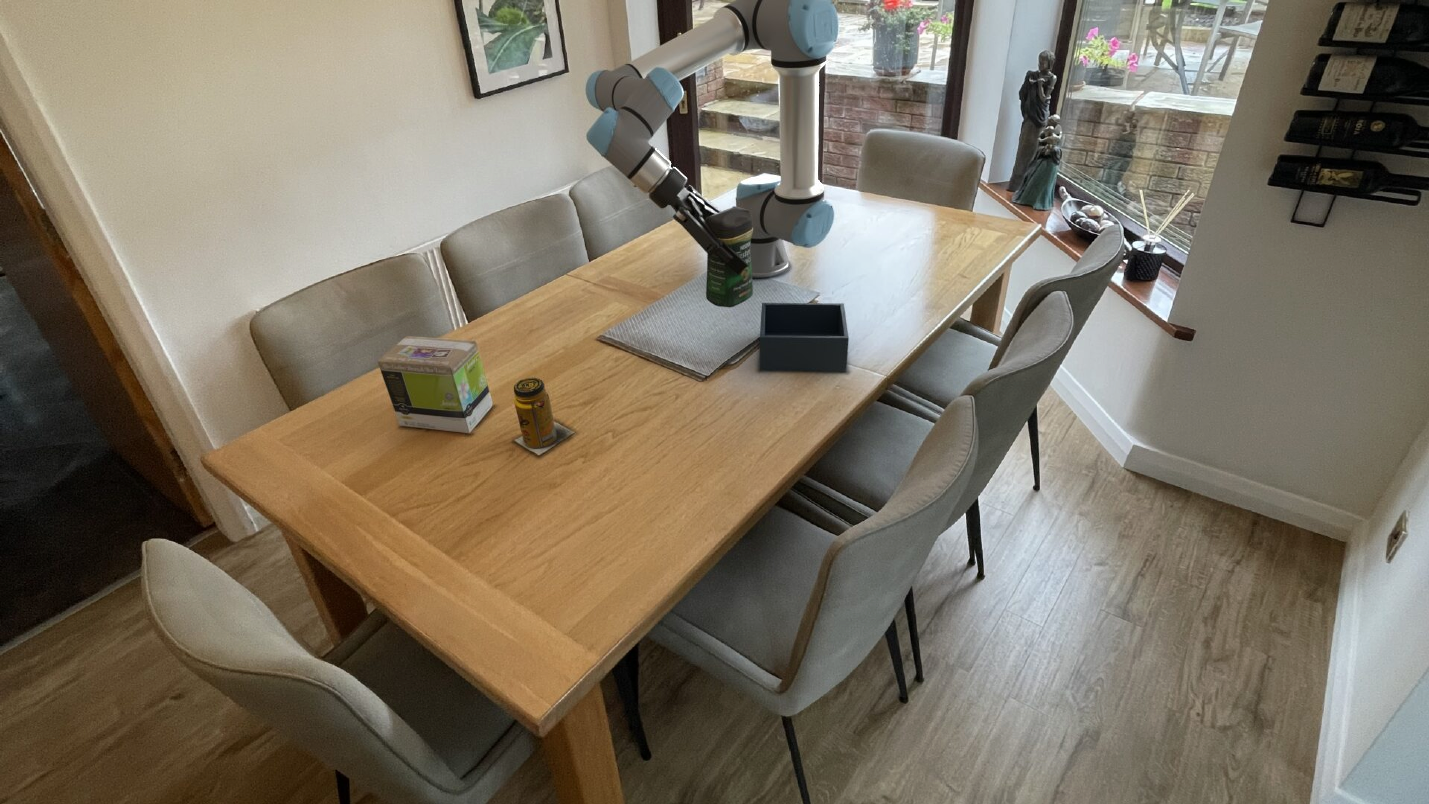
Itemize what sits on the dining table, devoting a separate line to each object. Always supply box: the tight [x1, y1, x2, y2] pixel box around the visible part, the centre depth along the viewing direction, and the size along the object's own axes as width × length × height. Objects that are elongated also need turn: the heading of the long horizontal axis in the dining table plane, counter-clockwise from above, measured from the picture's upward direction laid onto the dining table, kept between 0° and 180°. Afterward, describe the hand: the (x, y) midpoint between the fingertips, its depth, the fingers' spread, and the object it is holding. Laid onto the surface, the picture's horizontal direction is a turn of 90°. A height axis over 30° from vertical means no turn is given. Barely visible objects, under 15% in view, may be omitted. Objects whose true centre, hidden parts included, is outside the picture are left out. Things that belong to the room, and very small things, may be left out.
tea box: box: [377, 335, 493, 434], centre depth 136 cm, size 15×10×15 cm
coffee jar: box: [705, 205, 754, 308], centre depth 145 cm, size 10×8×19 cm
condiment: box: [513, 377, 575, 456], centre depth 130 cm, size 7×8×12 cm
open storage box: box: [759, 302, 850, 373], centre depth 153 cm, size 15×18×8 cm
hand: (744, 258), depth 145 cm, fingers closed on coffee jar, 10 cm apart
